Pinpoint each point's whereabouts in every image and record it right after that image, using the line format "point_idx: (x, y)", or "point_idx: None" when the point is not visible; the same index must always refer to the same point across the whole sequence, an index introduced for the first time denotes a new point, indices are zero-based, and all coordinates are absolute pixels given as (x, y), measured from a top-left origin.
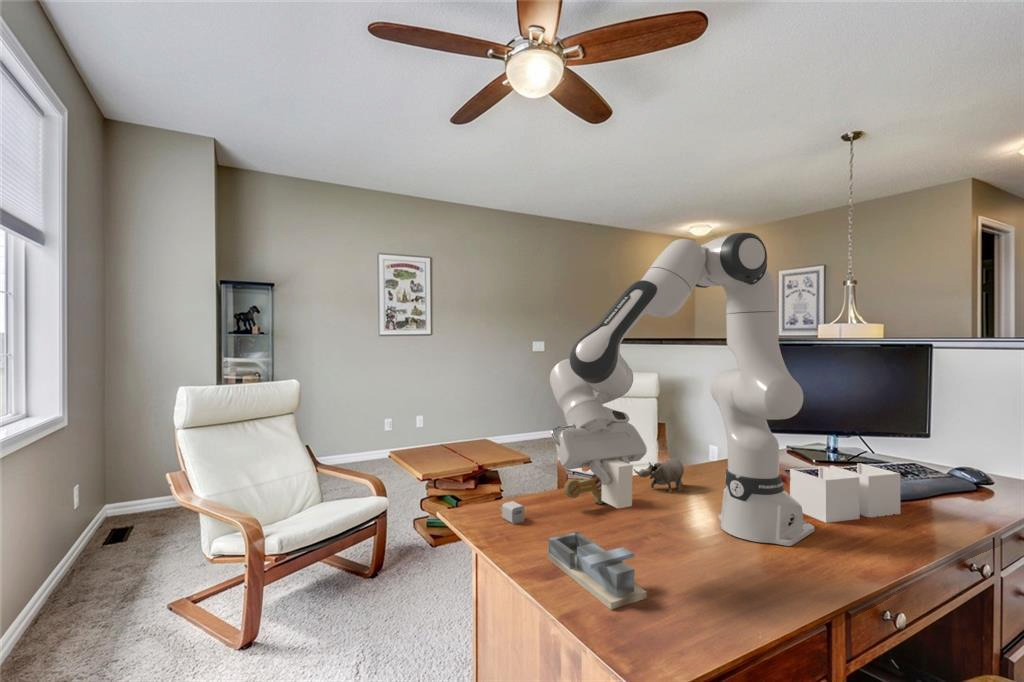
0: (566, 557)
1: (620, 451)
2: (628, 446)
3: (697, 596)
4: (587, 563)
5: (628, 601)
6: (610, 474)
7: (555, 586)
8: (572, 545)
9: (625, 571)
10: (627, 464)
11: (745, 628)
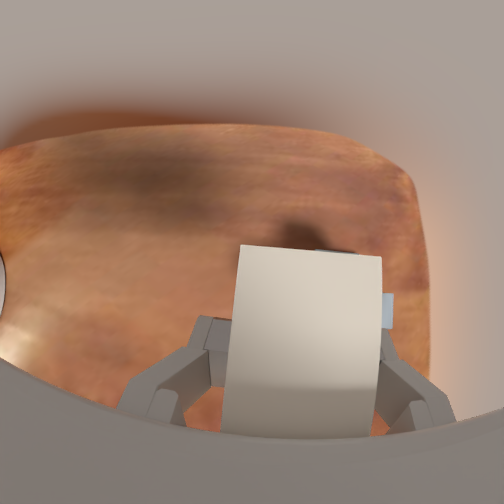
0: None
1: (165, 452)
2: (33, 444)
3: (209, 214)
4: (392, 303)
5: None
6: None
7: None
8: None
9: (337, 251)
10: (270, 274)
11: (228, 143)
